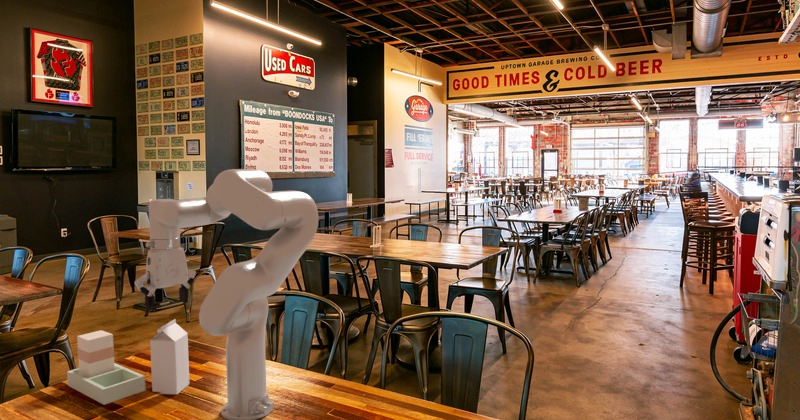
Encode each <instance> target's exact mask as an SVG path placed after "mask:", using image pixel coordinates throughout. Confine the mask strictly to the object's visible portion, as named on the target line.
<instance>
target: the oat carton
mask: <svg viewBox="0 0 800 420" xmlns="http://www.w3.org/2000/svg"><path fill="white" fill-rule="evenodd" d="M76 337H77V338H76V341H77V343H76V344H77V359H78V368H79V375H81V376H83V377H85V378H87V379H88V378H91V377H94V376H97V375H101V374H104V373H107V372H111V371H114V370H115V368H114V363H115V347H114V334H113V333H111V332H107V331H104V330H103V329H101V330H96V331H93V332H89V333H85V334H80V335H76Z"/></svg>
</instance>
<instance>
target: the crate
mask: <svg viewBox="0 0 800 420" xmlns="http://www.w3.org/2000/svg"><path fill="white" fill-rule="evenodd" d="M114 368H115V370H114V371H111V372H107V373H104V374H101V375H97V376H94V377H91V378H88V379H87V378H85V377H83V376H81V375H79V367H78V368H73V369H71V370H67V371H66V372H67V373H66V374H67V375H66V376H67V379H66V380H67V386H68V387H69V388H72V389H73V390H76V391H77V392H79V393H81V394H83V395H84V396H87V397H89V398H90V399H92V400H94V401H96V402H98V403H99V404H102V405H103V406H104V405H107V404H111V403H114V402H116V401H119V400H122V399H125V398H128V397H131V396H134V395H136V394H139V393H141V392H142V393H143V392H145V391H146V376H145V375H143V374H141V373H139V372H136V371H134V370H132V369H129V368H127V367H126V366H123V365H120V364H119V363H115V362H114Z"/></svg>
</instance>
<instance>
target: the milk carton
mask: <svg viewBox="0 0 800 420" xmlns="http://www.w3.org/2000/svg"><path fill="white" fill-rule="evenodd" d="M156 332H157V334H156V335H155V336H154V337H152V339H150V340H149V342H150V343H149V344H150V347H149V349H150V368H151V390H152V392H153V393H154V392H156V394H157V395H179V394H180V393H181V392H182V391H183V390H184V389H186V388H187V387H188V386H189V385H190V364H189V363H190V362H189V338H188V337H189V336H188V335H189V334H188V332H187V331H186V330H185V329H183V328H182V327H181V326H180V325H179V324H178V323H177V321H176V318H174V319H173V320H170V321H168V323H166V324H163V325H162V326H161V327H159V328H157V330H156Z"/></svg>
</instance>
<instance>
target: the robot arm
mask: <svg viewBox="0 0 800 420" xmlns="http://www.w3.org/2000/svg"><path fill="white" fill-rule="evenodd" d="M231 214H233V215H235V216H236V217H238V219H240V220H242V221H243V222H245V223H246V224H247V225H249V226H251V227H252V228H254V229H257V230H261V231H271V230H276V229H278V231H277V232H276V233H274V234H273V235H272V236H271V237H269V239H268V240H267V241H266V243H265V245H264V246H263V247H262V250H260V252H259V253H258V254H257V255H256V256H255V257H254V258H252V259H249V260H246V261H239V262H236V263H233V264H231V265H229V266H228V267H226V268H225V269H224V270H223V271H222V272H221V273H220V274H219V275H218V277H217V279H216V280H215V282H214V284H213V285H212V287H211V288H210V290H209V291H208V293H207V295H206V296H205V298H204V300H203V301H202V303H201V305H200V308H199V312H198V313H199V314H198V320H199V325H200V327H201V329H202V330H203V331H204V332H205V333H206V334H208V335H210V336H215V337H220V336H225V335H227V338H226V343H225V359H226V360H225V362H226V365H225V366H226V391H227V394H226V395H227V399H226V400H227V402H226V403H224V404H223V405H222V407H221V411H220V413H221V416H222V418H223V419H225V420H258V419H261V418H263V417H265V416H268V415H270V413H271V412H272V410H273V409H274V408H275V404H274V402H273V400H272V399H270V398H269V397H270V396H269V395H270V394H269V393H267V373H266V372H267V371H266V370H267V369H266V368H267V365H266V364H267V363H266V359H267V358H266V330H267V329H266V326H267V319H268V315H269V301H268V297H269V296H273V295H274V294H275V293H276V292H278V290H279V289H280V288H281V286H282V285H283V283H284V282H285V280H287V279H286V278H287V277H289V274H290V273H291V272H292V271H293V269H294V268H295V266H296V265H297V263H298V262H299V260H300V259H301V257H302V256H303V255H304V254H305V252H306V250H307V249H308V248H309V247H310V245H311V244H312V242H313V239H314V238H315V236H316V233H317V231H318V228H319V227H318V226H319V211H318V207H317V205H316V202H315V200H314V199H313V198H312V197H311V196H310V195H309V194H308V193H306V192H303V191H299V190H278V191H277V190H275V191H273V181H272V178H271V177H270V176H269V175H268V174H267V172H264V171H263V170H260V169H254V168H237V169H236V168H232V169H226V170H223V171H221V172H220V173H218V174H217V176H216V177H215V179H214V180H213V183H212V184H211V185H210V186H209V187H208V189H207V192H206V196H205V197H197V198H183V199H173V198H172V199H171V198H160V199H159V198H158V199H157V198H156V199H153V200H151V201H150V202H149V204H148V221H149V241H148V242H145V247H146V248H149V249H150V250H148V251H147V256H146V264H145V273H144V274H143V275H141V276H140V277H139V278H137V279H136V280H134V285H135V286H136V287H135V288H137V290H138V292H140V293H142V295H144V299H145V301H144V305H145V308H146V310H148V311H151V312H153V311H154V312H155V310H156V300H155V299H156V298H155V295H153V294H154V293H155V291H156V290H157V289H164V288H168V287H169V288H170V287H173V286H180V287H179V288H178V292H179V293H178V294H179V297H178V298H179V301H178V302H180V303H183V304H188V302H189V289H190V288H191V285H192V284H193V282H194V279H195V276H196V274H197V271H196V270H193V269H191V268H188V263H187V257H186V253H185V249H184V247H181V229H185V228H193V227H200V226H206V225H210V224H213V223H216V222H219V221H221V220H224V219H227V218H228V217H229V216H230V215H231ZM144 283H146V284H145V285H146V286H144Z"/></svg>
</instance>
